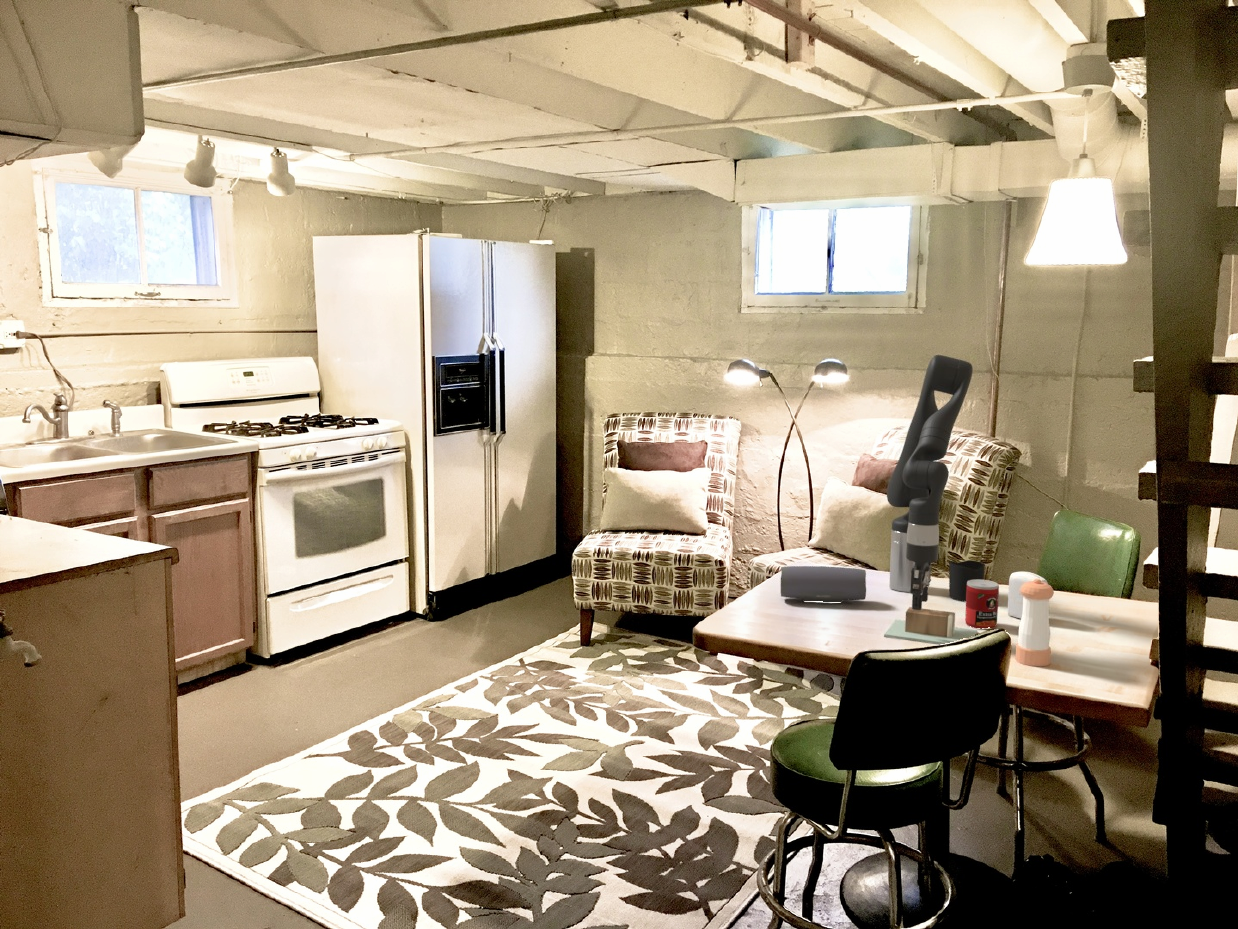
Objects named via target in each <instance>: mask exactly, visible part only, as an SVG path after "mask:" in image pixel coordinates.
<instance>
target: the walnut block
mask: <svg viewBox="0 0 1238 929" xmlns="http://www.w3.org/2000/svg"><path fill="white" fill-rule="evenodd" d="M904 621H905V632H912V633H919V634H927V635H934V636H942V637H949V638H951V637H952V636H953V634H954V629H955V627H956V612H954V611H945V610H938V609H930V608H922V609H921V610H914V609H912V606H909V607H908V609H906V611H905V620H904Z"/></svg>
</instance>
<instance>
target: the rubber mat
mask: <svg viewBox="0 0 1238 929" xmlns="http://www.w3.org/2000/svg"><path fill="white" fill-rule="evenodd" d="M905 621H906V620H904V619H895V620H894V621H893V623H892V624H891V625H890V626H889V628H888V629H887V630H886V631H885V633H884V634H883V635H884V638H891V639H899V640H905V641H911V642H912V641H913V642H920V643H928V644H935V645H941V644H945V643H950V642H954V641H957V640H960V639H963V638H969V637H971V636H974V635H975V634H976V635H977V633H978V629H974V628H973V629H972V628H965V627H956V626H955V629H954V634H953V636H952V637H951V638H949V637H942V636H934V635H927V634H919V633H912V632H905Z"/></svg>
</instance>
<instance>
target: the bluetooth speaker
mask: <svg viewBox="0 0 1238 929" xmlns="http://www.w3.org/2000/svg"><path fill="white" fill-rule="evenodd" d="M780 572H781V576H780V597H782V598H787V599H789V598H790V599H798V600H799V599H800V600H802V601H803V600H804V601H823V602H841V603H842V602H843V601H847V602H848V601H862V600H863V601H864V600H866V596H867V586H866V585H867V582H866V581H867V580H866V578H867V576H866V575H867V573H866V572H867V571H866V569H862V568H856V567H855V568H853V567H842V566H841V567H840V566H826V565H825V566H819V565H815V566H814V565H810V566H809V565H807V566H806V565H805V566H803V565H799V566H797V565H795V566H794V565H791V566H790V565H789V566H781V568H780Z"/></svg>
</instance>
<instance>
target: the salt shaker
mask: <svg viewBox="0 0 1238 929" xmlns="http://www.w3.org/2000/svg"><path fill="white" fill-rule="evenodd" d="M1020 592H1021V594H1022V595H1023V596H1024V598H1023V613H1022V618H1021V619H1020V623H1019V628H1018V641H1017V643H1016V647H1015V660H1016V662H1018V663H1019V662H1020V664H1022V665H1025V666H1029V667H1030V666H1031V667H1047V666H1050V665H1051V653H1052V652H1051V646H1050V639H1051V628H1050V626H1051V625H1050V618H1049V615H1050V614H1049V613H1050V599H1052V598H1053V596H1054V593H1055V592H1054V589H1053V587H1052V586H1051V585H1050V584H1049V583H1048V584H1046V583H1044V582H1041V580H1040V579H1034V581H1029V582H1026V583H1024V584H1023V585H1022V586H1021V588H1020Z"/></svg>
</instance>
